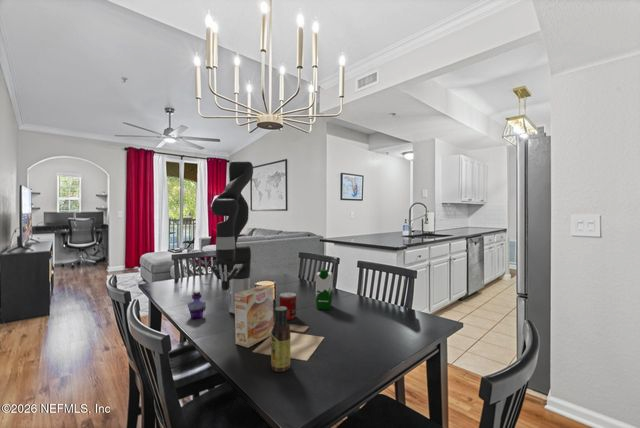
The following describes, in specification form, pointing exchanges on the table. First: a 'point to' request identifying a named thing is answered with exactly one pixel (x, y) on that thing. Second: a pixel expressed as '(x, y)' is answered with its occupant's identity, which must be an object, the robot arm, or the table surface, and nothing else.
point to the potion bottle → (196, 306)
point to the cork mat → (295, 346)
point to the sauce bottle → (280, 341)
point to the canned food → (289, 304)
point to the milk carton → (324, 289)
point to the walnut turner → (298, 328)
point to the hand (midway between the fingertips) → (225, 289)
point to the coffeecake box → (253, 315)
